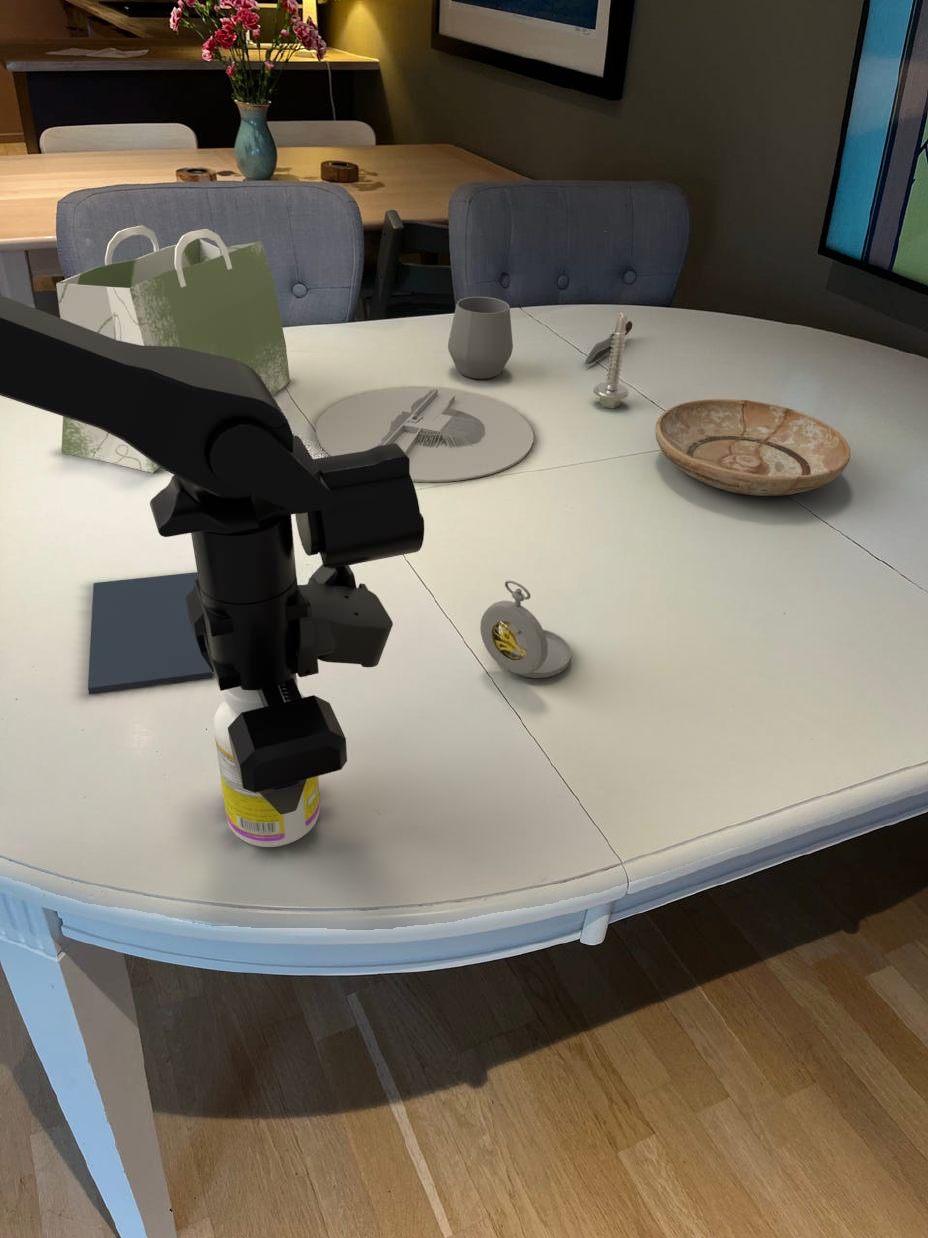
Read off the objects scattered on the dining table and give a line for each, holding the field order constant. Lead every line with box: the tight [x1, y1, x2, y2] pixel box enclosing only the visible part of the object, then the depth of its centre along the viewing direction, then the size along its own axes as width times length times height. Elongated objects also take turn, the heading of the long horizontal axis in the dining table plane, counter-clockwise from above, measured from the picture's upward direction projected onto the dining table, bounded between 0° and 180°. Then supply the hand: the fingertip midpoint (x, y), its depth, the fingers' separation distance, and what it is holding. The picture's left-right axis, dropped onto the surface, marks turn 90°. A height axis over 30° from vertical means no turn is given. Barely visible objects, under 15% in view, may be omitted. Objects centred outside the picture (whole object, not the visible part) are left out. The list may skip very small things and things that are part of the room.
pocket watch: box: [479, 580, 572, 679], centre depth 82 cm, size 8×8×10 cm
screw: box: [593, 311, 630, 409], centre depth 130 cm, size 13×5×5 cm
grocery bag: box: [55, 225, 291, 474], centre depth 117 cm, size 32×14×23 cm, turn 159°
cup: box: [447, 296, 514, 380], centre depth 138 cm, size 10×9×10 cm
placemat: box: [87, 571, 214, 694], centre depth 86 cm, size 16×10×1 cm, turn 16°
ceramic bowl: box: [654, 398, 851, 497], centre depth 117 cm, size 23×24×5 cm
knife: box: [583, 320, 633, 365], centre depth 150 cm, size 18×2×3 cm, turn 150°
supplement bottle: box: [213, 673, 321, 848], centre depth 65 cm, size 7×7×13 cm
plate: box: [315, 387, 534, 483], centre depth 123 cm, size 28×28×1 cm
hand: (271, 765), depth 66 cm, fingers open, 9 cm apart
